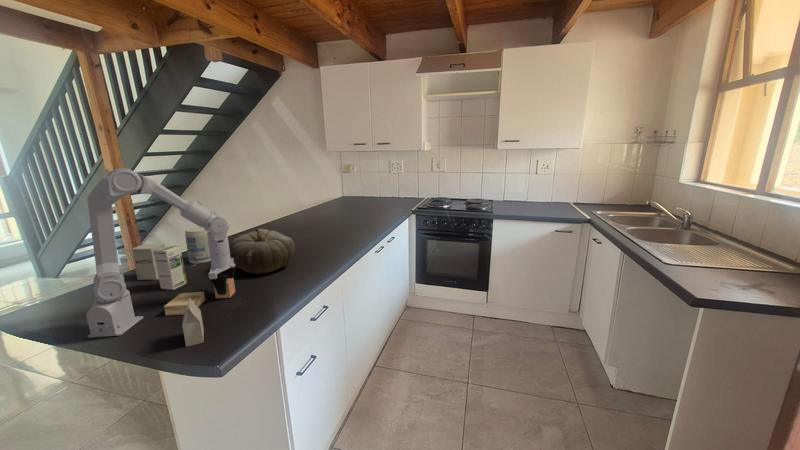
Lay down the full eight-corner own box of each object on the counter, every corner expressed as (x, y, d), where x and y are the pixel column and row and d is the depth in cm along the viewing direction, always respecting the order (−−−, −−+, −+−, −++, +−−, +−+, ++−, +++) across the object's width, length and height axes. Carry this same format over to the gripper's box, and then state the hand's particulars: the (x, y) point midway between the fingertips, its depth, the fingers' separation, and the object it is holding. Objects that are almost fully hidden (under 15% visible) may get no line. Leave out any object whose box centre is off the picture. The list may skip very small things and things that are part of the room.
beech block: (191, 313, 94) (189, 304, 93) (165, 315, 93) (163, 306, 93) (205, 300, 103) (203, 291, 102) (182, 301, 102) (180, 293, 101)
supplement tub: (188, 265, 134) (182, 232, 131) (190, 259, 142) (185, 227, 139) (214, 262, 139) (209, 229, 135) (215, 256, 147) (210, 225, 143)
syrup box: (173, 290, 111) (166, 250, 107) (160, 288, 112) (152, 249, 108) (187, 283, 116) (181, 246, 113) (174, 282, 117) (167, 245, 114)
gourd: (263, 249, 148) (261, 214, 141) (308, 263, 141) (308, 227, 134) (217, 273, 126) (212, 233, 119) (268, 291, 119) (266, 250, 112)
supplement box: (137, 280, 119) (130, 248, 116) (151, 273, 126) (145, 243, 124) (156, 280, 119) (150, 248, 117) (170, 272, 127) (164, 242, 124)
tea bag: (203, 329, 86) (198, 296, 84) (203, 342, 80) (197, 306, 78) (187, 333, 84) (181, 299, 82) (186, 346, 78) (179, 310, 76)
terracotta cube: (230, 297, 104) (228, 283, 103) (215, 298, 103) (213, 284, 102) (235, 291, 108) (233, 278, 107) (221, 292, 108) (219, 278, 107)
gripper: (223, 259, 96) (229, 300, 99) (240, 245, 110) (245, 281, 113) (198, 260, 95) (205, 301, 98) (219, 246, 109) (224, 282, 112)
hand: (225, 291), depth 106 cm, fingers closed on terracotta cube, 4 cm apart
